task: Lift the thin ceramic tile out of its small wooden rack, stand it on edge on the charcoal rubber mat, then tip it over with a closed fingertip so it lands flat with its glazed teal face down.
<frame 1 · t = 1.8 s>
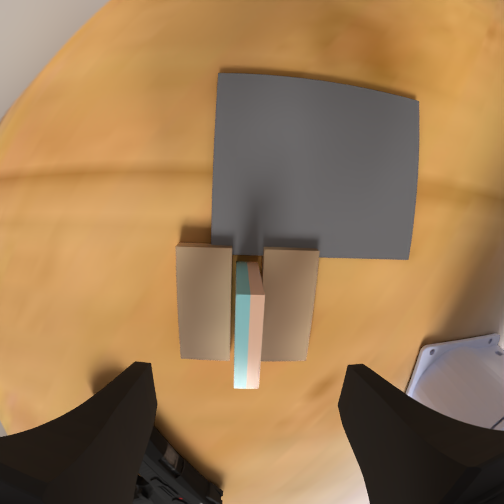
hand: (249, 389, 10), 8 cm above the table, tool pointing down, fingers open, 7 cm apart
mat: (323, 167, 17), on the table
tile rack: (245, 302, 18), on the table
tile: (245, 302, 18), on the table
handgun: (136, 458, 23), on the table
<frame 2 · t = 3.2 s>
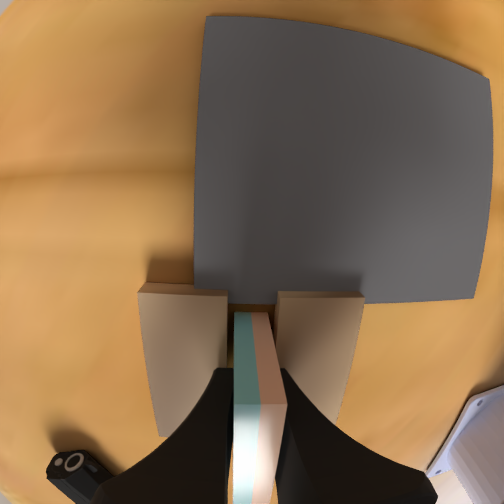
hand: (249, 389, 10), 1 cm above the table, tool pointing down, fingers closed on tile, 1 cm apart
mat: (371, 165, 10), on the table
tile rack: (248, 367, 12), on the table
tile: (248, 367, 12), on the table, touching gripper
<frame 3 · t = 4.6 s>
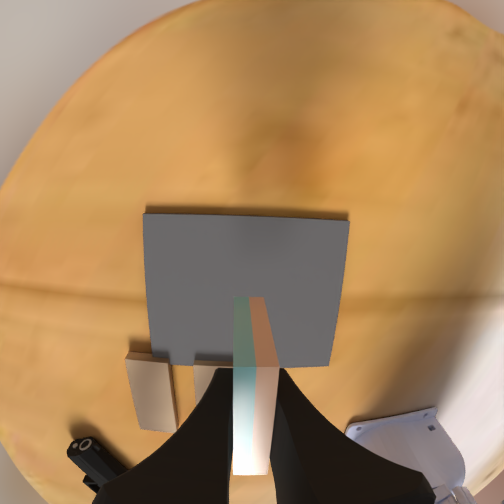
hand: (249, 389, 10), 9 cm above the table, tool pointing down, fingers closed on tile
mat: (244, 297, 19), on the table
tile rack: (185, 394, 21), on the table
tile: (247, 349, 13), point 6 cm above the table, touching gripper
handgun: (113, 483, 25), on the table
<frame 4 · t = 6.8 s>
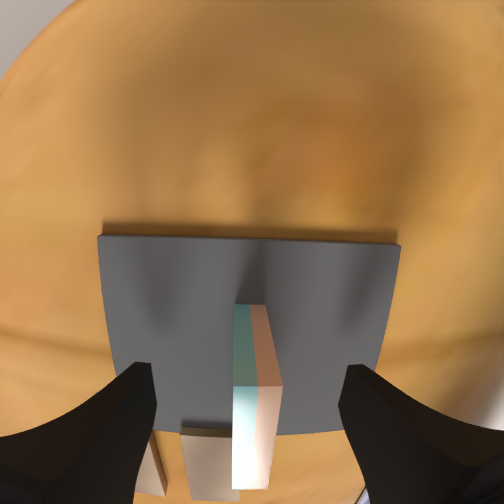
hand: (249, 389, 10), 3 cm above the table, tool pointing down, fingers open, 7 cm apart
mat: (247, 353, 13), on the table
tile rack: (173, 458, 15), on the table
tile: (247, 358, 12), resting on mat
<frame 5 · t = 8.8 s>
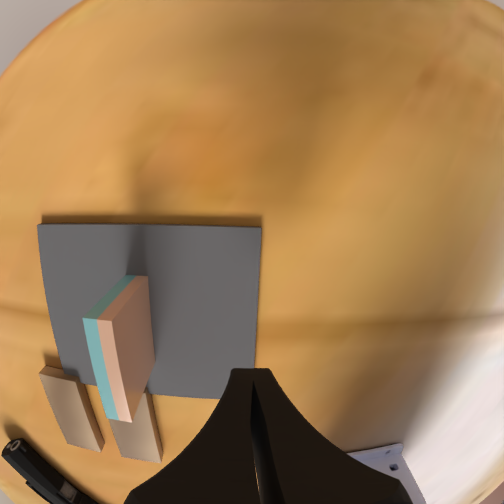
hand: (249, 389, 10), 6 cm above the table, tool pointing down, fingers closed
mat: (142, 317, 16), on the table
tile rack: (103, 414, 17), on the table
tile: (140, 320, 15), resting on mat
handgun: (57, 488, 21), on the table
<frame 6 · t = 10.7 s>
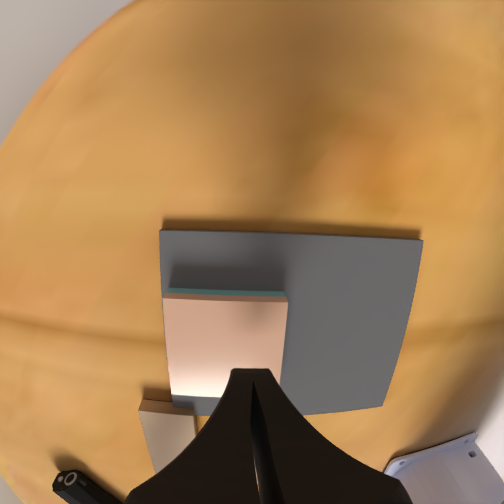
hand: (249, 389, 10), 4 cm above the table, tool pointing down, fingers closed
mat: (292, 336, 14), on the table
tile rack: (212, 443, 16), on the table
tile: (281, 347, 13), point 1 cm above the table, tilted 90°, touching mat
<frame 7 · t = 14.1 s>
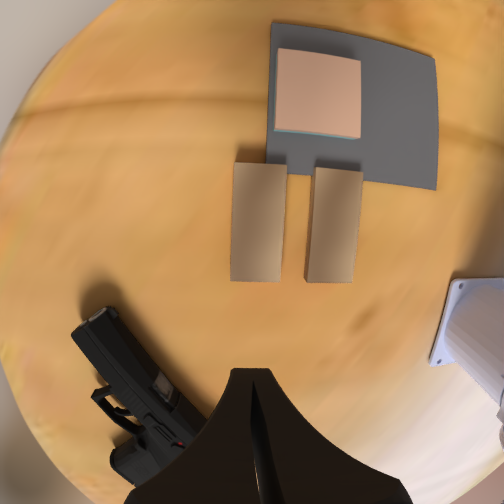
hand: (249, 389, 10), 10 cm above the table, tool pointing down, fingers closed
mat: (361, 104, 17), on the table
tile rack: (295, 223, 19), on the table
tile: (357, 99, 16), point 1 cm above the table, tilted 90°, touching mat
handgun: (133, 404, 23), on the table
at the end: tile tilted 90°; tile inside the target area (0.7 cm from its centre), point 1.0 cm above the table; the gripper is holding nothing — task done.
